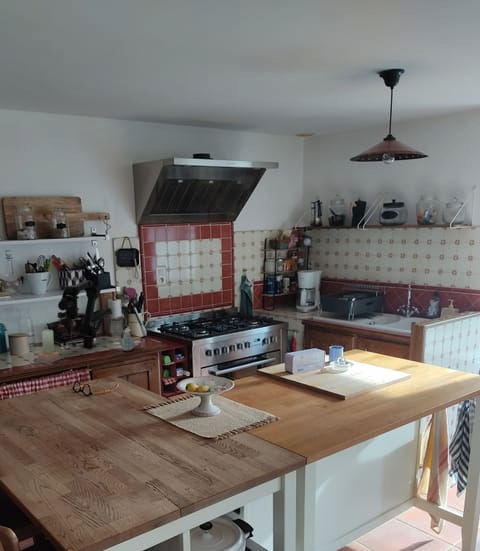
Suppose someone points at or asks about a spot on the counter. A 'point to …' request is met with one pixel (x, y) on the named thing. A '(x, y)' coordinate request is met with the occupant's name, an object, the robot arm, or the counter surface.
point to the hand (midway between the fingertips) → (73, 332)
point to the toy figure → (127, 341)
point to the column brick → (48, 342)
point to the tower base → (48, 358)
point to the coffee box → (119, 327)
